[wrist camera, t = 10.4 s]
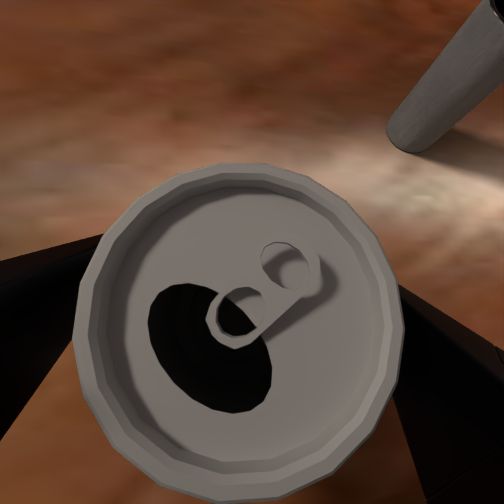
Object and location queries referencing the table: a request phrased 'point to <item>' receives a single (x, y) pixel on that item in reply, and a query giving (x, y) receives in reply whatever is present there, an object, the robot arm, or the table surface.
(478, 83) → the grey cylinder
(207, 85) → the table surface
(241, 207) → the can
